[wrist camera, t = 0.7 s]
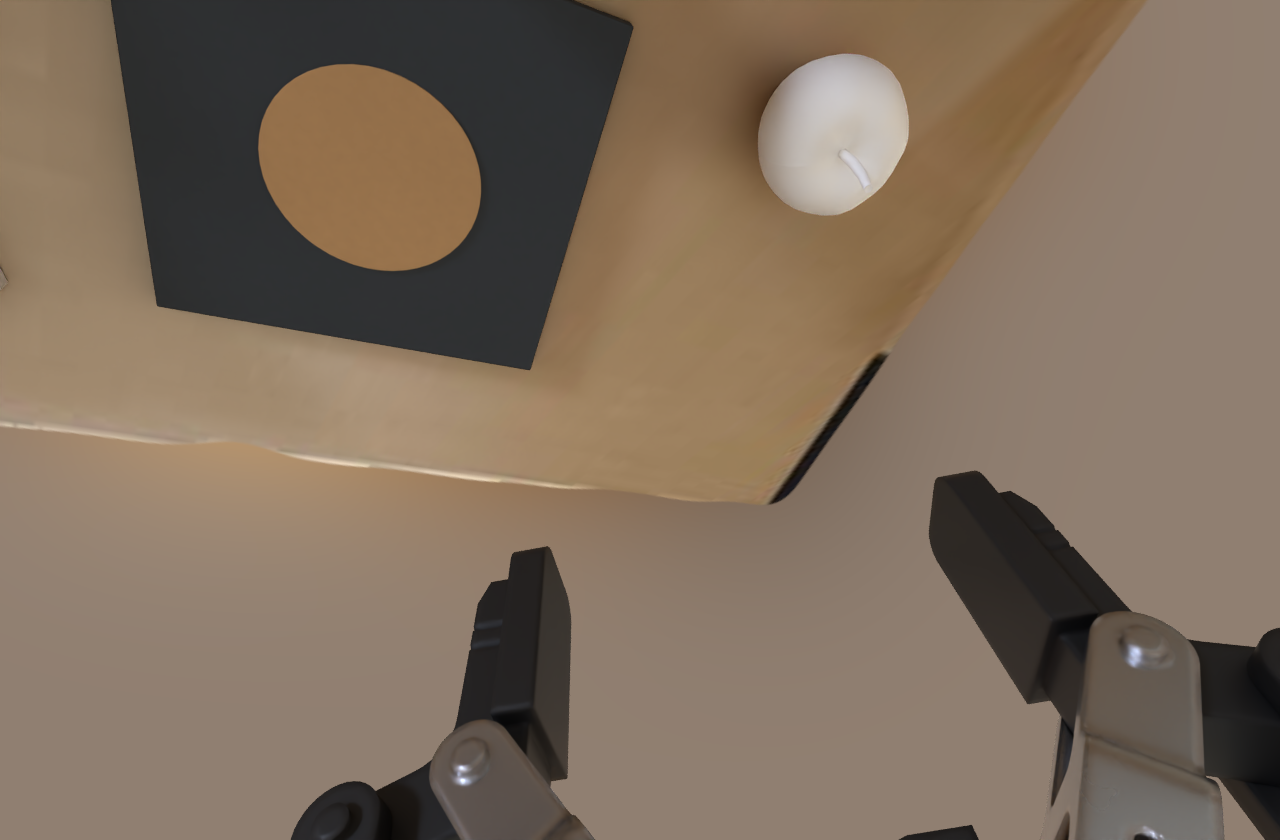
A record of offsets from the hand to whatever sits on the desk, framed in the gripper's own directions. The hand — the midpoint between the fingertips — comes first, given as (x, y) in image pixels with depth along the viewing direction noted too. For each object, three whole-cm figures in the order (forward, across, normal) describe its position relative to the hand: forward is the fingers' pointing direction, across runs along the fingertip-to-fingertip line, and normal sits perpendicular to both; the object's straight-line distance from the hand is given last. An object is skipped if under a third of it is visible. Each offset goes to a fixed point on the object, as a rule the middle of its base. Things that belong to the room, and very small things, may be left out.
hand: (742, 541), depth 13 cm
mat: (+24, +13, -5) cm, 28 cm away
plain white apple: (+26, -9, -3) cm, 28 cm away
